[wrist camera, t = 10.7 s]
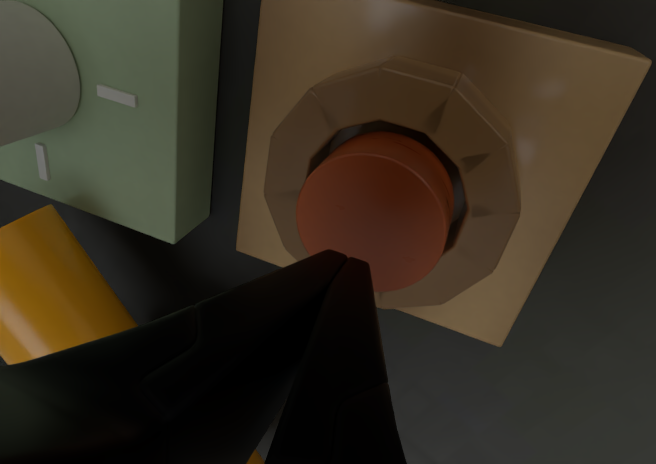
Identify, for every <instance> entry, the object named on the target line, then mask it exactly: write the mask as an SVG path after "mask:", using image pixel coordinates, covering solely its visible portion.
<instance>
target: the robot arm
mask: <svg viewBox="0 0 656 464" xmlns="http://www.w3.org/2000/svg"><path fill="white" fill-rule="evenodd" d="M288 395H289V396H288ZM287 397H288V399H287V402H286V404H285V407H284V410H283V413H282V416H281V418H280V421H279V424H278V427H277V430H276V432H275V435H274V438H273V441H272V444H271V446H270V449H269V452H268V455H267V458H266V461H265V463H264V464H407V463H406V459H405V456H404V452H403V449H402V445H401V441H400V438H399V434H398V431H397V426H396V421H395V416H394V411H393V406H392V401H391V395H390V389H389V385H388V378H387V371H386V365H385V359H384V352H383V346H382V340H381V333H380V327H379V321H378V315H377V308H376V302H375V296H374V289H373V283H372V277H371V270H370V265H369V263H368V262H366V261H363V260H360V259H357V258H354V257H349V258H348V257H347V255H345V254H343V253H340V252H337V251H334V250H332V249H327V250H324V251H322V252H319V253H317V254H314V255H312V256H310V257H307V258H305V259H302V260H300V261H298V262H295V263H293V264H290V265H288V266H286V267H283V268H281V269H278V270H276V271H274V272H271V273H269V274H266V275H264V276H262V277H259V278H257V279H254V280H252V281H250V282H247V283H245V284H242V285H240V286H237V287H235V288H233V289H230V290H228V291H225V292H223V293H221V294H218V295H216V296H213V297H211V298H209V299H206V300H204V301H201V302H199V303H197V304H196V305H195V306H193V305H191V306H189V307H187V308H184V309H182V310H179V311H177V312H174V313H172V314H169V315H167V316H164V317H162V318H159V319H156V320H154V321H151V322H149V323H146V324H143V325H140V326H137V327H134V328H131V329H128V330H125V331H122V332H119V333H116V334H113V335H110V336H106V337H103V338H100V339H97V340H93V341H90V342H87V343H84V344H81V345H77V346H74V347H71V348H68V349H65V350H61V351H58V352H55V353H52V354H48V355H45V356H42V357H39V358H36V359H32V360H28V361H25V362H21V363H16V364H11V365H6V366H0V464H246V463H247V462H248V460H249V458H250V457H251V455H252V454H253V452H254V450H255V449H256V447H257V446H258V444H259V442H260V441H261V439H262V437H263V436H264V434H265V433H266V431H267V429H268V428H269V426H270V424H271V423H272V421H273V420H274V418H275V416H276V415H277V413H278V411H279V410H280V408H281V407H282V405H283V403H284V402H285V400H286V398H287Z"/></svg>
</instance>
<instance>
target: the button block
mask: <svg viewBox="0 0 656 464" xmlns="http://www.w3.org/2000/svg"><path fill="white" fill-rule="evenodd" d="M651 64H652V61H651V60H650V59H649V58H647V57H646V56H644V55H642V54H641V53H639V52H638V51H636V50H634V49H633V48H631V47H628V46H624V45H620V44H615V43H611V42H607V41H603V40H599V39H595V38H590V37H586V36H582V35H578V34H574V33H569V32H565V31H561V30H557V29H553V28H549V27H544V26H540V25H536V24H532V23H528V22H524V21H519V20H515V19H511V18H507V17H503V16H498V15H494V14H490V13H486V12H482V11H478V10H473V9H469V8H465V7H461V6H457V5H453V4H448V3H444V2H440V1H436V0H261V8H260V18H259V27H258V37H257V47H256V57H255V66H254V76H253V86H252V96H251V105H250V115H249V125H248V135H247V144H246V154H245V164H244V174H243V184H242V193H241V203H240V213H239V223H238V232H237V242H236V250H237V251H239V252H242V253H245V254H247V255H250V256H253V257H255V258H258V259H261V260H264V261H266V262H269V263H272V264H275V265H277V266H280V267H286V266H288V265H290V264H293V263H295V262H298V261H300V260H302V259H305V258H307V257H310V255H309V254H308V252H307V251H306V249H305V247H304V245H303V243H302V241H301V238H300V236H299V232H298V229H297V223H296V204H297V199H298V195H299V192H300V190H301V188H302V185H303V184H304V182H305V180H306V179H307V177H308V176H309V175H310V174H311V173H312V172H313V171H314V170H315V169H316V168H317V167H318V166H319V165H320V164H321V163H322V162H323V161H324V160H325V159H326V158H327V157H328V156H329V155H330V154H331V153H332V152H333V151H334V150H335V149H336V148H337V147H338V146H339V145H340V144H342V143H343V142H345V141H346V140H348V139H350V138H352V137H354V136H357V135H360V134H363V133H368V132H377V131H385V132H393V133H398V134H402V135H405V136H407V137H410V138H412V139H414V140H416V141H418V142H420V143H421V144H423V145H424V146H426V147H427V148H428V149H429V150H430V151H432V152H433V153H434V154H435V155H436V156H437V158H438V159H439V160H440V161H441V163H442V164H443V166H444V167H445V169H446V171H447V173H448V175H449V177H450V180H451V183H452V186H453V192H454V210H453V215H452V220H451V224H450V228H449V232H448V236H447V240H446V244H445V247H444V251H443V253H442V255H441V257H440V260H439V261H438V263H437V264H436V266H435V267H434V268H433V269H432V270H431V272H430V273H429V274H428V275H426V276H425V277H424V278H423V279H421V280H420V281H418V282H416V283H415V284H413V285H410V286H408V287H406V288H403V289H399V290H395V291H389V292H374V296H375V302H376V307H378V308H383V309H397V310H400V311H402V312H405V313H408V314H411V315H413V316H416V317H419V318H421V319H424V320H427V321H430V322H432V323H435V324H438V325H440V326H443V327H446V328H449V329H451V330H454V331H457V332H459V333H462V334H465V335H468V336H470V337H473V338H476V339H479V340H481V341H484V342H487V343H489V344H492V345H495V346H498V347H501V346H502V345H503V343H504V341H505V339H506V337H507V335H508V333H509V332H510V330H511V328H512V326H513V324H514V322H515V320H516V318H517V316H518V315H519V313H520V311H521V309H522V307H523V305H524V303H525V301H526V300H527V298H528V296H529V294H530V292H531V290H532V288H533V286H534V284H535V283H536V281H537V279H538V277H539V275H540V273H541V271H542V269H543V268H544V266H545V264H546V262H547V260H548V258H549V256H550V254H551V252H552V251H553V249H554V247H555V245H556V243H557V241H558V239H559V237H560V236H561V234H562V232H563V230H564V228H565V226H566V224H567V222H568V220H569V219H570V217H571V215H572V213H573V211H574V209H575V207H576V205H577V204H578V202H579V200H580V198H581V196H582V194H583V192H584V190H585V188H586V187H587V185H588V183H589V181H590V179H591V177H592V175H593V173H594V172H595V170H596V168H597V166H598V164H599V162H600V160H601V158H602V156H603V155H604V153H605V151H606V149H607V147H608V145H609V143H610V141H611V140H612V138H613V136H614V134H615V132H616V130H617V128H618V126H619V125H620V123H621V121H622V119H623V117H624V115H625V113H626V111H627V109H628V108H629V106H630V104H631V102H632V100H633V98H634V96H635V94H636V93H637V91H638V89H639V87H640V85H641V83H642V81H643V79H644V77H645V76H646V74H647V72H648V70H649V68H650V66H651Z"/></svg>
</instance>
